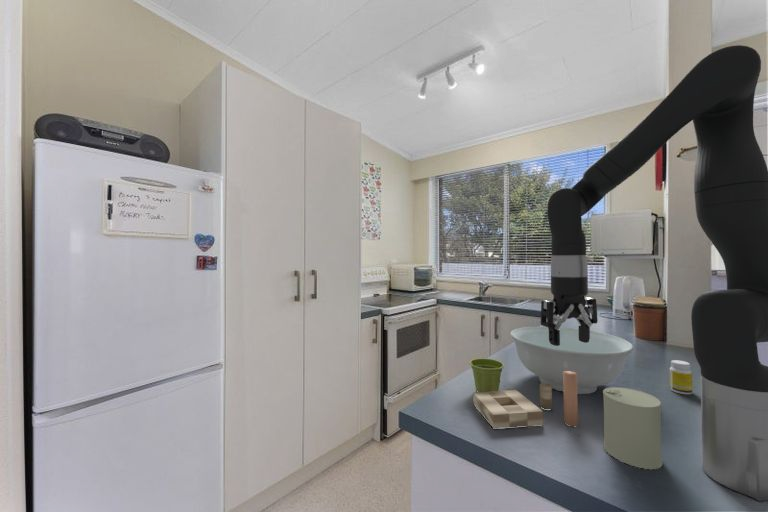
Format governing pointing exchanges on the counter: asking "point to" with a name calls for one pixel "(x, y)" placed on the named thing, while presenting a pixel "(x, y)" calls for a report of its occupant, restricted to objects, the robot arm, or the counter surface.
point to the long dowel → (570, 398)
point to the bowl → (572, 356)
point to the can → (632, 427)
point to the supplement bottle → (680, 377)
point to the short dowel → (545, 396)
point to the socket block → (507, 409)
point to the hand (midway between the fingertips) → (569, 343)
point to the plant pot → (486, 374)
